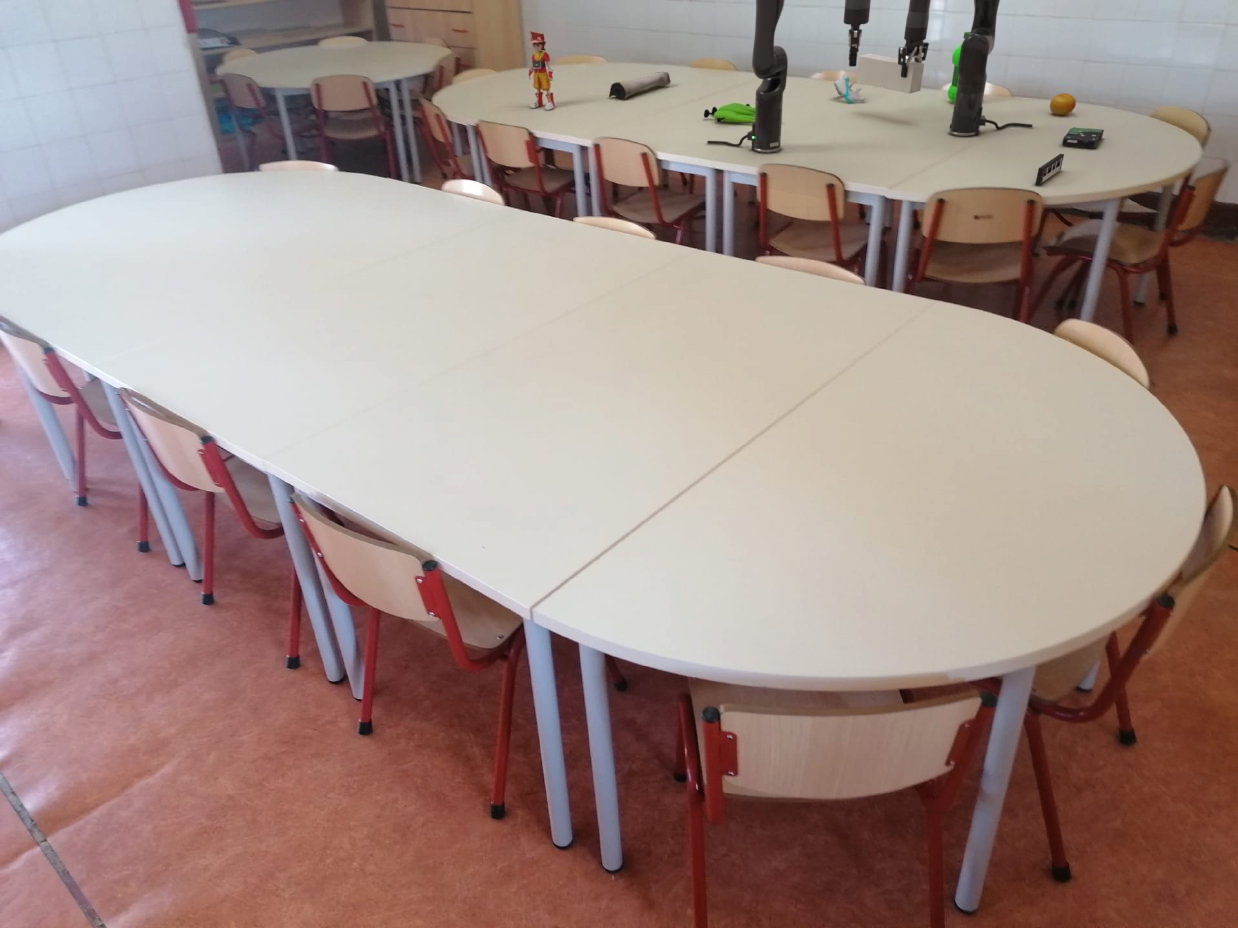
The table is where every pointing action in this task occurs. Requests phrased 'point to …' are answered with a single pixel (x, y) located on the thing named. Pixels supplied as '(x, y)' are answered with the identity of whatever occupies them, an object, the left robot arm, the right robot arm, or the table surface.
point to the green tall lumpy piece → (955, 71)
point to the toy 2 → (733, 113)
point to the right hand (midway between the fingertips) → (909, 75)
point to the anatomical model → (847, 90)
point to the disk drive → (1083, 137)
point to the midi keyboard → (1049, 169)
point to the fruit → (1062, 104)
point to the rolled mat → (638, 84)
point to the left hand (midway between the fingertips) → (852, 63)
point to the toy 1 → (541, 71)
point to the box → (889, 73)
